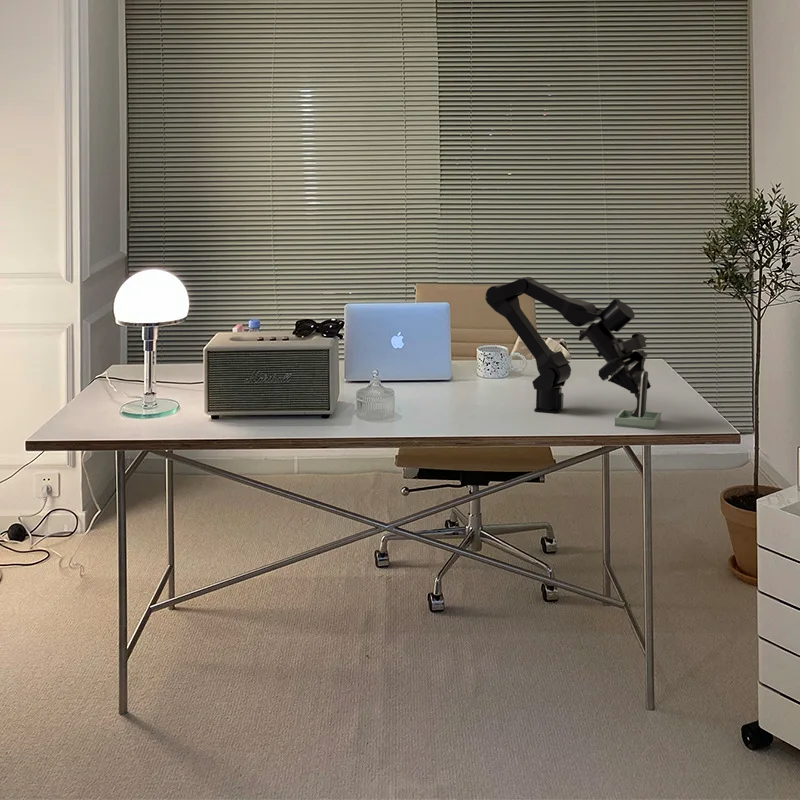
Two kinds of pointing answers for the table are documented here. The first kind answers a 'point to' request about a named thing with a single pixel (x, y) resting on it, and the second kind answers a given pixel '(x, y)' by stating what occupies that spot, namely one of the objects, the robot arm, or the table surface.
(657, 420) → the tray
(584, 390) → the table surface
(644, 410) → the dark grey curved piece
